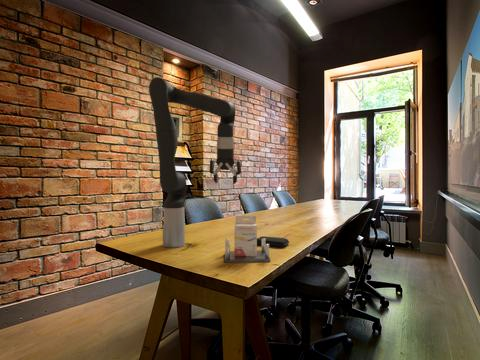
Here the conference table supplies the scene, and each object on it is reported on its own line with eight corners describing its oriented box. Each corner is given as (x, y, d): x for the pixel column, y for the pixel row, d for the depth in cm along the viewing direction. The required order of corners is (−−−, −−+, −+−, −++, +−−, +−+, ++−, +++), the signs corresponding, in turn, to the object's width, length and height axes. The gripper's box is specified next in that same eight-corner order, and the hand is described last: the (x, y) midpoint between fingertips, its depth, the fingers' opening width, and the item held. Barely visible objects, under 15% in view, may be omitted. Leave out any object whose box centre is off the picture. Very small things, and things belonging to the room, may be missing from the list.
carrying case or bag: (290, 244, 129) (261, 241, 136) (290, 237, 129) (261, 234, 136) (283, 249, 120) (252, 246, 126) (283, 242, 120) (252, 239, 126)
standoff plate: (225, 262, 101) (225, 246, 101) (224, 253, 113) (224, 239, 112) (270, 261, 102) (270, 245, 102) (265, 252, 114) (265, 238, 113)
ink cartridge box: (234, 256, 105) (233, 217, 105) (234, 253, 110) (234, 215, 110) (257, 256, 105) (256, 217, 105) (256, 253, 110) (256, 215, 110)
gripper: (242, 147, 126) (242, 182, 130) (212, 146, 130) (213, 180, 133) (238, 148, 119) (238, 185, 122) (207, 147, 123) (207, 183, 126)
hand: (225, 183), depth 128 cm, fingers open, 8 cm apart
